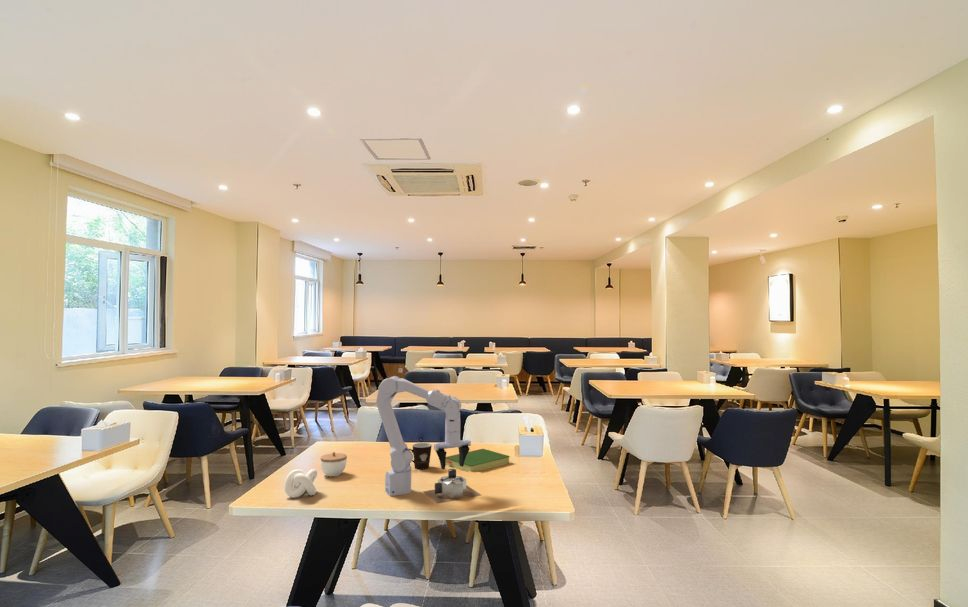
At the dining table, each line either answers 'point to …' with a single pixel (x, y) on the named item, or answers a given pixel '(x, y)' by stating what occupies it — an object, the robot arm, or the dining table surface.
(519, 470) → the dining table surface
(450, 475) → the grey knobbed lid
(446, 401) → the robot arm
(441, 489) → the silver octagonal piece
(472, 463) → the hardcover book
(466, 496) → the serving board
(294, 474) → the white knot ornament
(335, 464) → the lidded jar
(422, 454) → the coffee mug
